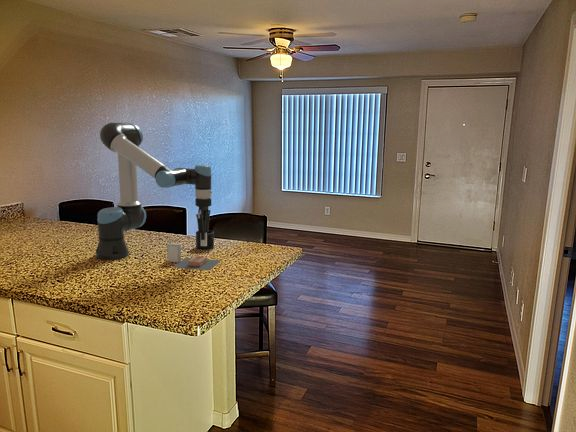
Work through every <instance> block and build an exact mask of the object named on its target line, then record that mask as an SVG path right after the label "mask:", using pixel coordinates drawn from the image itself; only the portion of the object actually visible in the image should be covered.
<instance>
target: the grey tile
mask: <svg viewBox="0 0 576 432" xmlns="http://www.w3.org/2000/svg"><path fill="white" fill-rule="evenodd" d="M166 248H167V249H166V253H167V262H170V263H171V262H172V263H179V262H181V261H182V244H180V243H171V242H170V243H167V244H166Z"/></svg>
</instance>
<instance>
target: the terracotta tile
mask: <svg viewBox="0 0 576 432" xmlns="http://www.w3.org/2000/svg"><path fill="white" fill-rule="evenodd" d="M191 258H192V259H190V260H189V261H188V265H190V266H201V265H203V264H204V263H205V262H206V261H207V259H208V256H200V255H195V256H193V257H191Z"/></svg>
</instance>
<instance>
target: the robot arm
mask: <svg viewBox="0 0 576 432" xmlns="http://www.w3.org/2000/svg"><path fill="white" fill-rule="evenodd" d="M99 139H100V141H101V143H102V144H103V146H104V147H106V148H107V149H108V150H110V151H111V152H112V153H117V161H118V162H117V165H118V182H119V183H118V184H119V185H118V186H119V202H117V204H116V205H117V206H111V207H106V208H102V209H100V210H99V211H98V212H97V219H96V221H97V230H98V231H97V232H98V243H97V247H96V251H95V258H97V259H100V260H107V261H108V260H119V259H123V258H126V257H128V256H129V252H130V251H129V248H128V246H127V243H126V241H125V232H128V231H131V230H137V229H138V228H140V227H143V225H144V224H145V223H146V222H147V221H146V219H147V212H146V210H145V209H144V207H143V206H142V202H140V201H139V195H138V194H139V193H138V174H137V173H138V171H137V167H138V168H139V169H141V170H142V171H144V172H145V173H146V174H148V175H149V176H150V177H153V178H154V180H155V183H156V184H157V186H158V187H160V188H163V189H165V188H166V189H167V188H173V187H176V186H177V187H178V186H183V185H193V186H194V185H195V187H194V188H195V192H194V193H195V194H194V196H195V200H194V201H195V206H196V207H198V210H197V211H198V212H197V213H196V214H195V216H196V220H197V231H199V233H201V246H207V232H209V231H207V230H210V220H211V219H210V218H211V217H210V216H211V209H209V207H211V206H212V198H211V197H212V194H213V191H212V174H213V173H212V167H211V166H210V165H207V164H196V165H195V167H194V168H186V167H184V168H183V167H175V168H174V169H171V168H169V167H167V166H166V165H165V164H163V163H162V162H160V161H159V160H157V159H156V158H155V157H153V156H152V155H151V154H149V153H148V152H146V151H145V150H143V149H142V148H140V145H142V143H143V141H144V134H143V131H142V129H141V128H140V127H139V126H138V125H136V124H134V123H130V122H108V123H105V125H103V126H102V127H101V129H100V131H99Z"/></svg>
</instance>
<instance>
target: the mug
mask: <svg viewBox="0 0 576 432" xmlns="http://www.w3.org/2000/svg"><path fill="white" fill-rule="evenodd" d="M207 231H209V232H207V246H201V233H199V231H198V230H197V231H195V249H197V250H201V251H202V250H204V251H206V250H207V251H208V250H214V249H215V231H213V230H210V229H209V230H207Z"/></svg>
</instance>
